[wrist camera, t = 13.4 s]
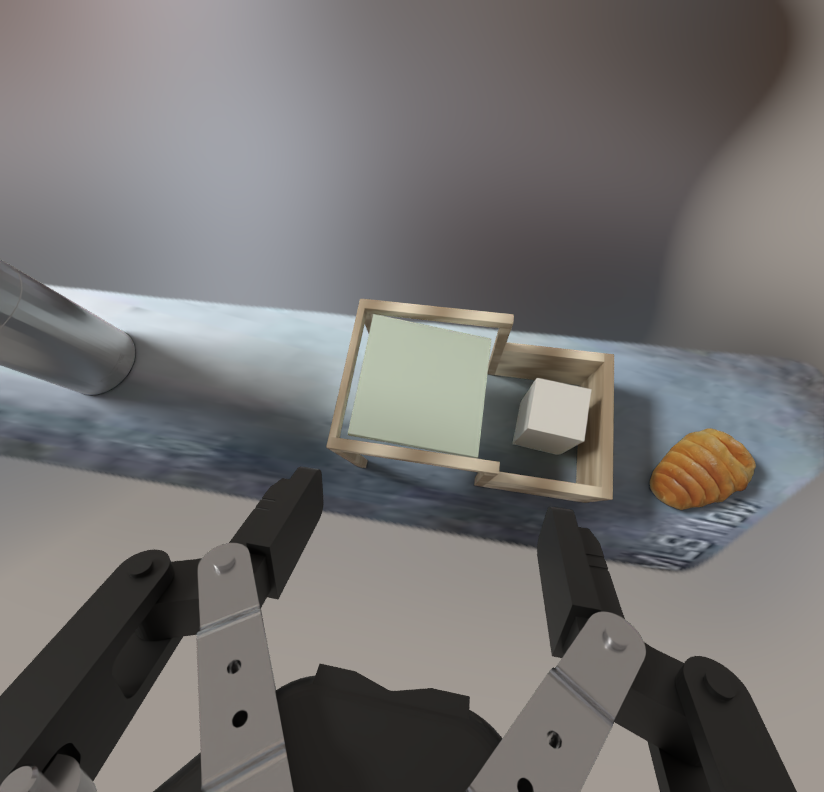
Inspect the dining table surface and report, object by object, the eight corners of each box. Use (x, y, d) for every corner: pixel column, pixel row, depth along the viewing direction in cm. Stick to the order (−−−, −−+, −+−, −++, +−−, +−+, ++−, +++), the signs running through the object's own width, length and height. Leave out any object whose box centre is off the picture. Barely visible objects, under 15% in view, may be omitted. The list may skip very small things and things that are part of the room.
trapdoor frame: (358, 467, 43) (326, 447, 31) (380, 354, 47) (360, 298, 35) (584, 502, 40) (644, 495, 28) (588, 379, 44) (642, 328, 32)
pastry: (675, 527, 39) (699, 528, 36) (630, 470, 41) (648, 465, 38) (747, 478, 40) (777, 474, 36) (699, 424, 42) (723, 415, 38)
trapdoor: (348, 435, 32) (347, 433, 31) (372, 319, 36) (373, 314, 35) (474, 458, 33) (477, 457, 32) (487, 343, 36) (491, 338, 36)
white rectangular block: (584, 441, 34) (558, 455, 42) (591, 389, 36) (565, 411, 43) (527, 428, 35) (512, 444, 43) (536, 377, 36) (520, 401, 44)
